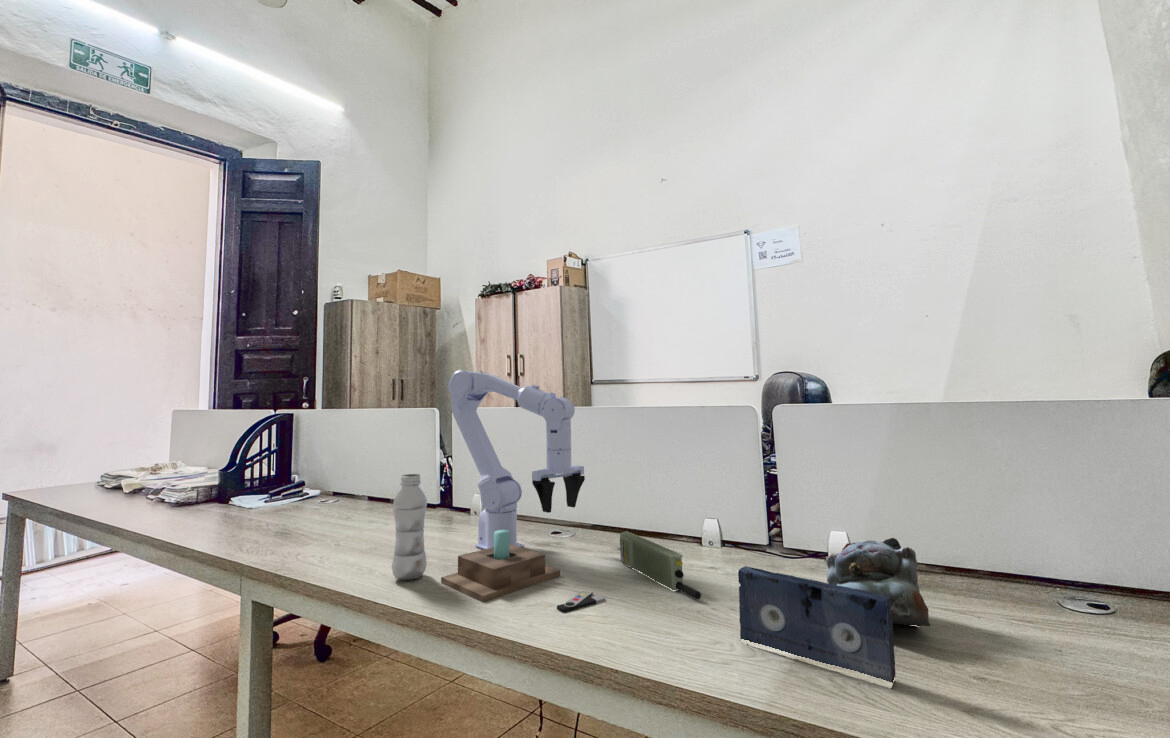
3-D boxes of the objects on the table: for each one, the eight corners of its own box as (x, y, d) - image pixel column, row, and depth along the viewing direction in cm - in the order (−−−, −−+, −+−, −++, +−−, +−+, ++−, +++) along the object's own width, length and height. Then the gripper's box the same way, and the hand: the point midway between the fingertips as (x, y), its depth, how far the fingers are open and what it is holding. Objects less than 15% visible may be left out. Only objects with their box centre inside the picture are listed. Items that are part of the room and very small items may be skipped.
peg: (491, 573, 95) (491, 531, 96) (504, 570, 97) (504, 529, 98) (499, 577, 93) (499, 534, 94) (512, 573, 95) (512, 531, 96)
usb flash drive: (563, 615, 79) (563, 609, 79) (547, 605, 83) (546, 599, 83) (606, 603, 84) (606, 597, 84) (588, 594, 88) (588, 588, 88)
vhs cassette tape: (897, 682, 58) (892, 595, 59) (892, 692, 56) (886, 602, 57) (748, 636, 70) (745, 564, 71) (739, 643, 68) (736, 569, 69)
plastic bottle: (431, 572, 99) (433, 472, 101) (417, 584, 93) (419, 477, 94) (401, 572, 100) (403, 472, 102) (384, 583, 93) (387, 477, 95)
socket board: (441, 582, 94) (441, 558, 94) (516, 561, 106) (516, 539, 107) (482, 601, 84) (482, 574, 84) (560, 575, 97) (559, 552, 97)
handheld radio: (632, 561, 106) (707, 601, 84) (618, 564, 105) (691, 605, 82) (630, 530, 107) (704, 561, 84) (617, 532, 105) (688, 565, 83)
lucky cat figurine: (804, 619, 75) (799, 528, 83) (851, 635, 80) (843, 547, 87) (906, 622, 64) (890, 516, 71) (954, 640, 69) (934, 539, 76)
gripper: (546, 452, 106) (546, 517, 104) (592, 448, 116) (593, 506, 115) (525, 450, 110) (526, 512, 109) (572, 446, 121) (572, 503, 120)
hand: (559, 509), depth 112 cm, fingers open, 7 cm apart
